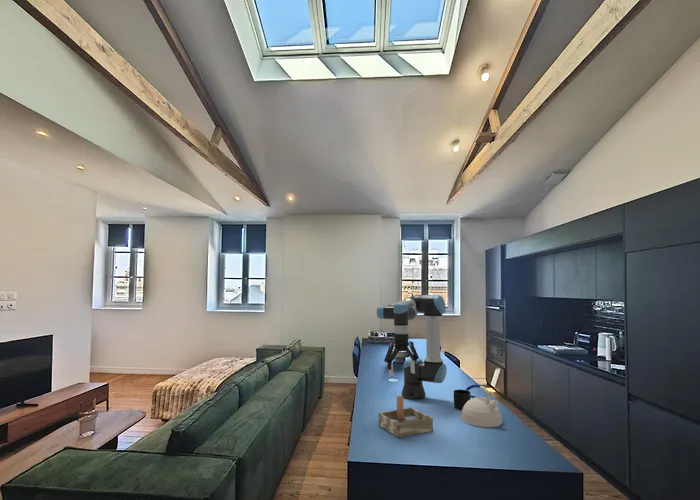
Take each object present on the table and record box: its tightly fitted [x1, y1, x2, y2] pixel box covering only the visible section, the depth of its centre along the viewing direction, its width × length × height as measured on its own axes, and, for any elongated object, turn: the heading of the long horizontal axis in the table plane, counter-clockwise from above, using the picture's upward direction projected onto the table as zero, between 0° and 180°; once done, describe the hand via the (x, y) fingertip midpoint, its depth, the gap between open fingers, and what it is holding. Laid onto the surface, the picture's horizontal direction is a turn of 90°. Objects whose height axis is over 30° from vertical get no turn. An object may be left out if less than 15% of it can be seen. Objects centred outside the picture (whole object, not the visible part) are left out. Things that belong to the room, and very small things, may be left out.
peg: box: [396, 395, 405, 421], centre depth 193 cm, size 3×3×14 cm
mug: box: [453, 389, 475, 411], centre depth 221 cm, size 9×12×9 cm
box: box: [378, 407, 434, 438], centre depth 189 cm, size 18×20×6 cm
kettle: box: [461, 384, 503, 428], centre depth 200 cm, size 20×21×18 cm
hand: (402, 374), depth 198 cm, fingers open, 13 cm apart
